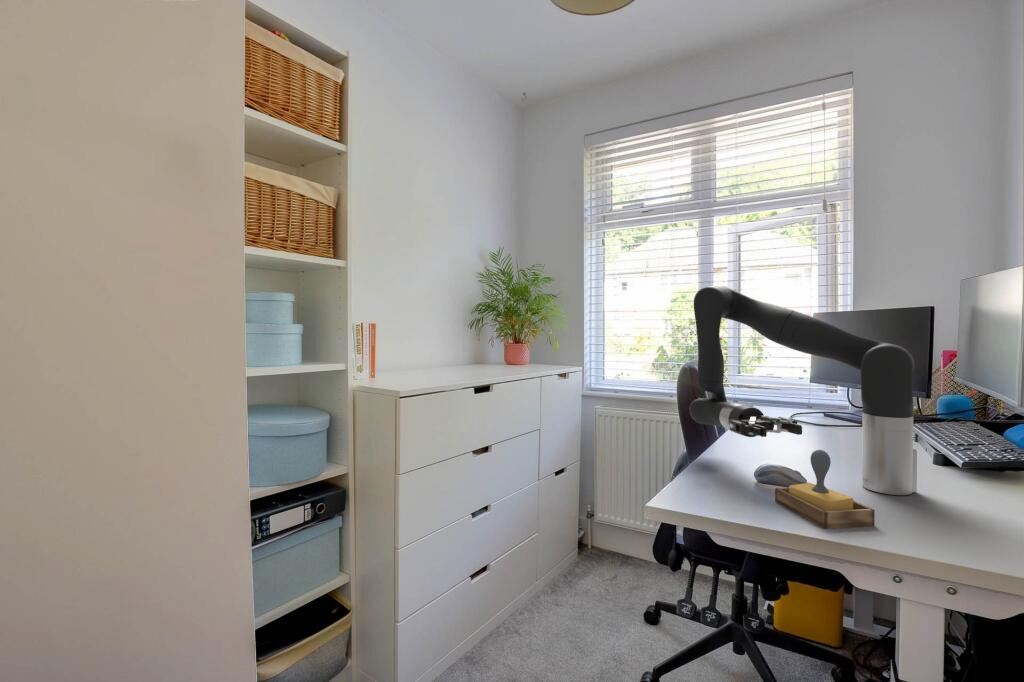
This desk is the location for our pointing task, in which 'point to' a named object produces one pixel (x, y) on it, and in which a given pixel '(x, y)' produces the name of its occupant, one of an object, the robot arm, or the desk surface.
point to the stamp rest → (826, 512)
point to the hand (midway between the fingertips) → (782, 431)
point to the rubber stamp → (821, 487)
